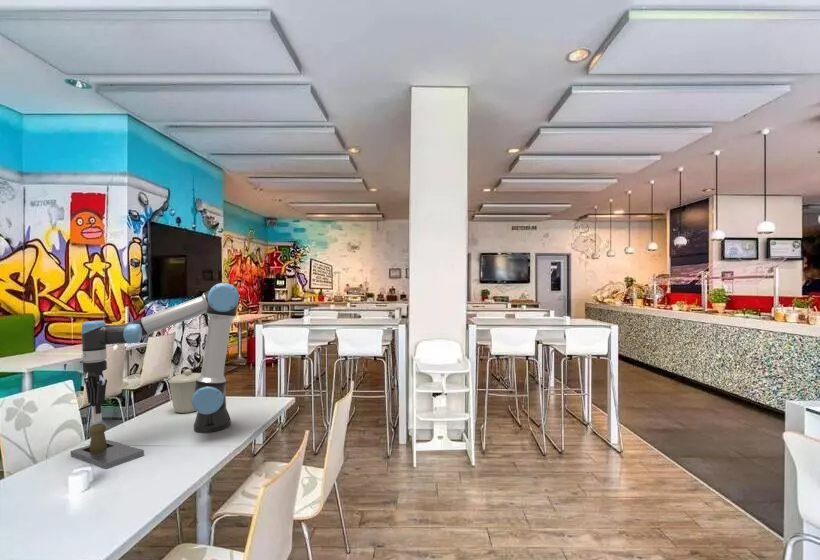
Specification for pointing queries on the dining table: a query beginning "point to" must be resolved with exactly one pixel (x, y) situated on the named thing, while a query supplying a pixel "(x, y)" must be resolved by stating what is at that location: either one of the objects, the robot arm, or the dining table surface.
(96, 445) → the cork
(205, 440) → the dining table surface
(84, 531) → the dining table surface
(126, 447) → the jig
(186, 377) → the canister
